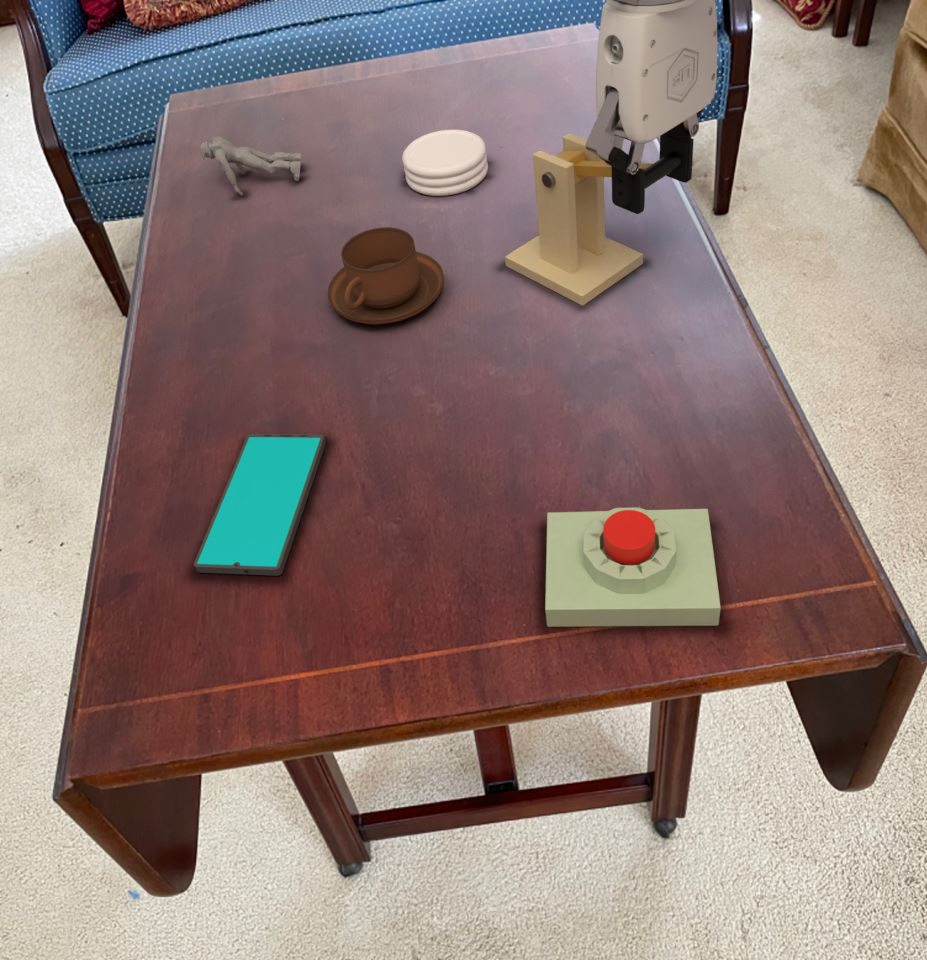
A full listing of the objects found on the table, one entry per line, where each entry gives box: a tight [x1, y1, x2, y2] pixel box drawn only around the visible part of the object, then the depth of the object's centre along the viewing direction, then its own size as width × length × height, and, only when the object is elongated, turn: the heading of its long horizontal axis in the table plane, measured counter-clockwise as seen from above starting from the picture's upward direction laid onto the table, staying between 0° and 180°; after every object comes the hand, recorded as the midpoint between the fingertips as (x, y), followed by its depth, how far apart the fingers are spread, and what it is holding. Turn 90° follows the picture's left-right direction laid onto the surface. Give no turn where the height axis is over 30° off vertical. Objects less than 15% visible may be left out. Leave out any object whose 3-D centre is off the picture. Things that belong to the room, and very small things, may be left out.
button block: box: [544, 506, 721, 628], centre depth 68 cm, size 12×9×4 cm
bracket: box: [504, 132, 644, 306], centre depth 92 cm, size 11×9×13 cm
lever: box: [554, 150, 681, 190], centre depth 85 cm, size 13×5×2 cm, turn 42°
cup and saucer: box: [327, 226, 445, 325], centre depth 95 cm, size 12×12×6 cm
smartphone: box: [193, 433, 327, 577], centre depth 79 cm, size 7×1×15 cm
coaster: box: [401, 129, 489, 197], centre depth 111 cm, size 10×10×4 cm
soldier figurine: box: [199, 135, 302, 197], centre depth 116 cm, size 6×5×12 cm
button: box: [603, 510, 655, 564], centre depth 66 cm, size 4×4×2 cm
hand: (651, 190), depth 83 cm, fingers open, 5 cm apart
